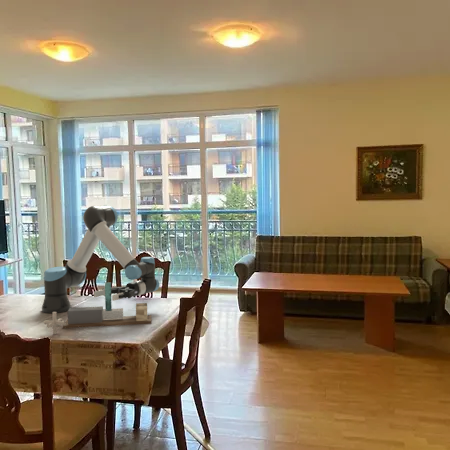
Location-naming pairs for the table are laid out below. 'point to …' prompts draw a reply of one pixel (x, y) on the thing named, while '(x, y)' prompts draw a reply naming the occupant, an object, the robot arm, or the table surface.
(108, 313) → the bar with teal cylinder
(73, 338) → the table surface
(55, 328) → the pipe connector
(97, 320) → the outer sleeve
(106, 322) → the base board
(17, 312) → the table surface
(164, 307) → the table surface
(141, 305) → the socket block
